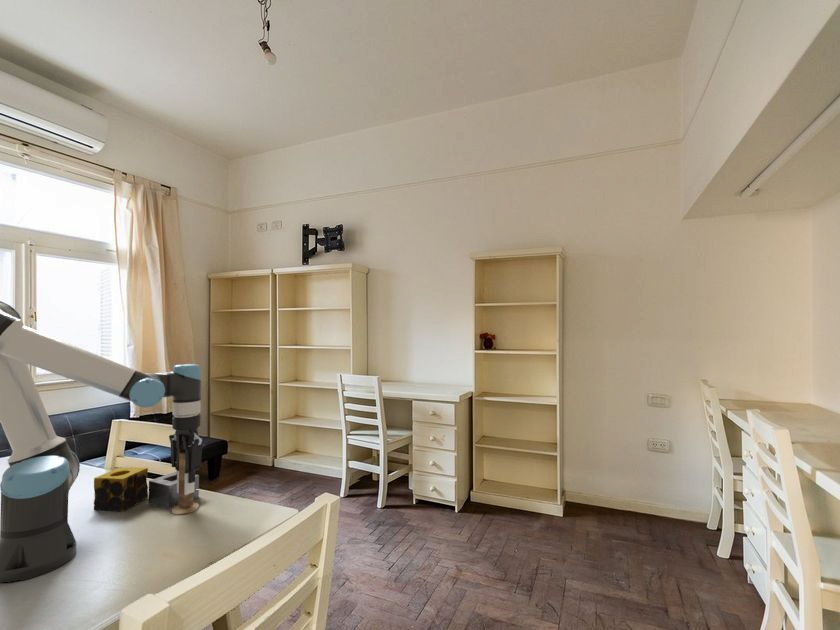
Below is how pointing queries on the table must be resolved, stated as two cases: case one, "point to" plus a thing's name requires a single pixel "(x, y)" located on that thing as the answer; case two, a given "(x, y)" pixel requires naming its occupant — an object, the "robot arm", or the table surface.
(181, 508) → the coaster
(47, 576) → the table surface
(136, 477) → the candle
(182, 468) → the dowel
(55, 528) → the robot arm
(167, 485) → the box
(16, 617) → the table surface
